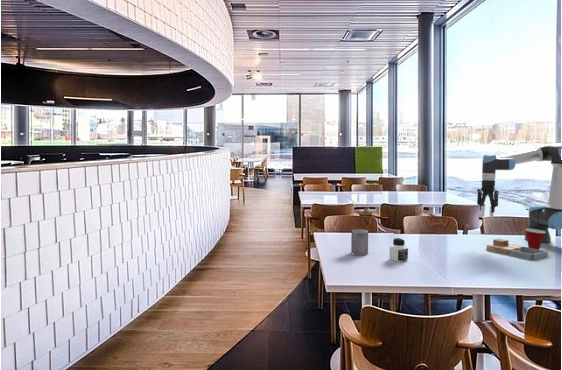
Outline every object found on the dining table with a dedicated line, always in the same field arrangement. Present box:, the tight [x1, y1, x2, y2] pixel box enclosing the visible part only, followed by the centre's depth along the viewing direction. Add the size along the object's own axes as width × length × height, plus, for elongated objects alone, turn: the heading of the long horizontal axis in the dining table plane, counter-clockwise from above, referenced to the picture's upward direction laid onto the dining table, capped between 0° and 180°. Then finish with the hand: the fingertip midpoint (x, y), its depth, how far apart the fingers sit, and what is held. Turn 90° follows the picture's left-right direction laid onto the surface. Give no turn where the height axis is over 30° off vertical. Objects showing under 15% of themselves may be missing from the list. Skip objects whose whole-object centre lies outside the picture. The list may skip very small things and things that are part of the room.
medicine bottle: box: [388, 237, 409, 263], centre depth 250 cm, size 7×7×12 cm
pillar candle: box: [350, 228, 369, 256], centre depth 263 cm, size 10×10×15 cm
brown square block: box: [492, 238, 510, 246], centre depth 274 cm, size 6×6×3 cm
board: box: [486, 242, 525, 256], centre depth 272 cm, size 16×14×3 cm
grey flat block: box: [508, 246, 549, 261], centre depth 260 cm, size 15×14×3 cm
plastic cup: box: [525, 228, 545, 250], centre depth 275 cm, size 11×11×12 cm
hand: (486, 216), depth 281 cm, fingers open, 5 cm apart
